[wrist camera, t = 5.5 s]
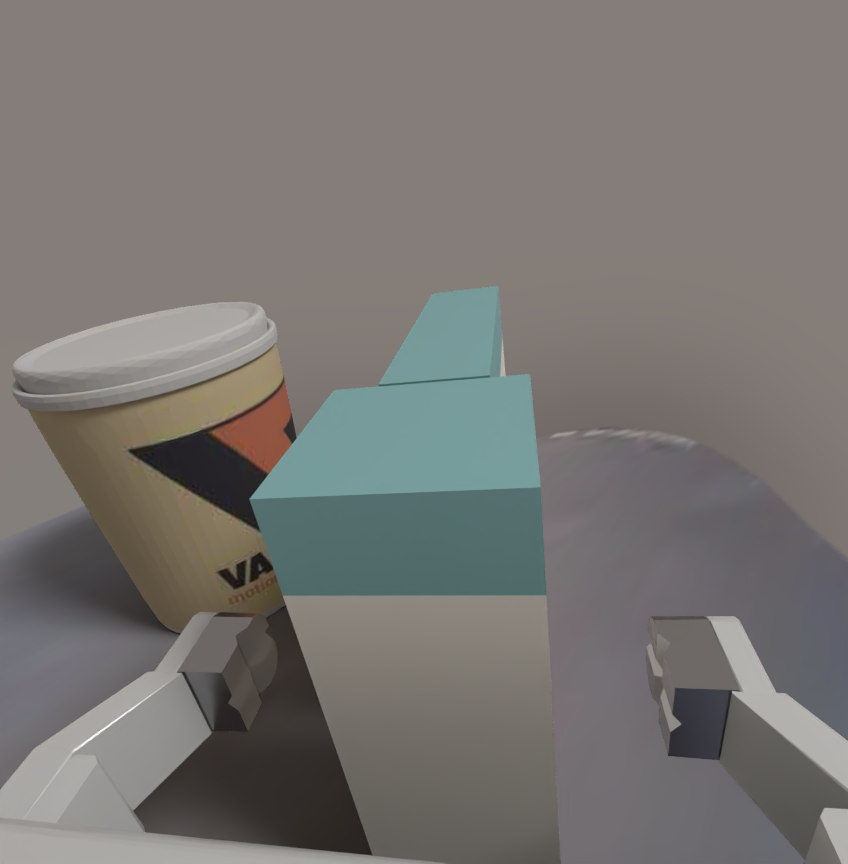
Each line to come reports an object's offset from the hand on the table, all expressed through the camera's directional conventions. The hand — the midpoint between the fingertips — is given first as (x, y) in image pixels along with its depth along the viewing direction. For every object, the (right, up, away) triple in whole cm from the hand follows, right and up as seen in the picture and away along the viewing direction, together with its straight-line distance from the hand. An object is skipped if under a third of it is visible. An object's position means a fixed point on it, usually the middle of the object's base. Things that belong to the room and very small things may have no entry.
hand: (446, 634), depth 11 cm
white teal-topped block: (+1, -6, +3) cm, 7 cm away
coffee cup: (-9, -3, +14) cm, 17 cm away
